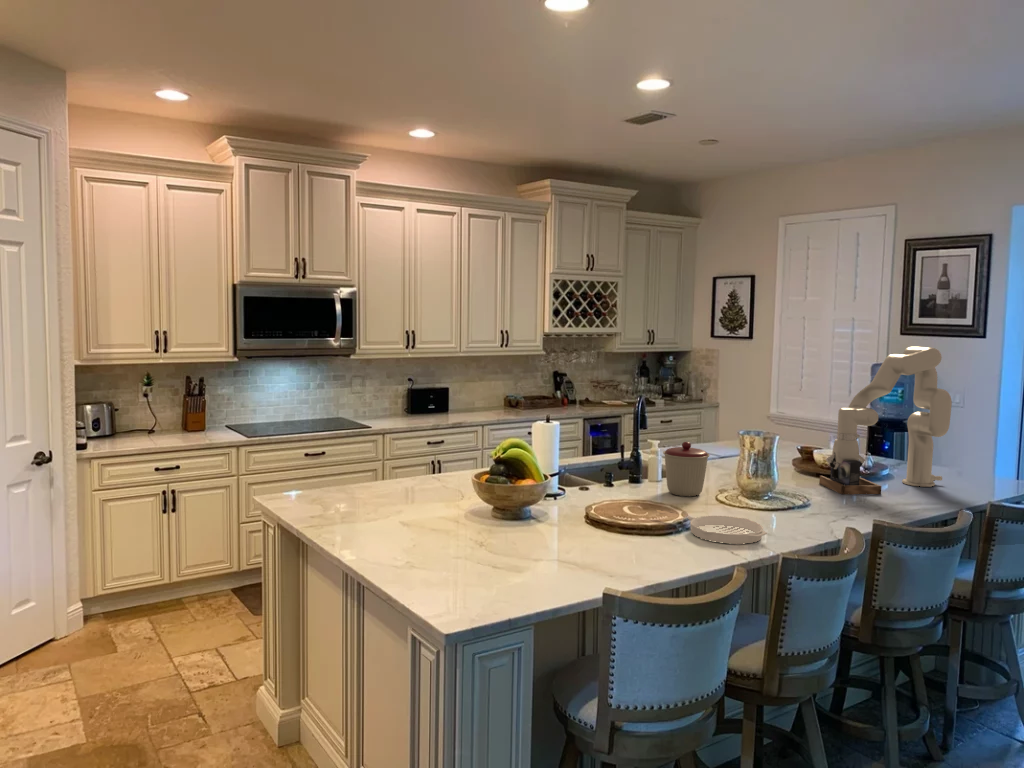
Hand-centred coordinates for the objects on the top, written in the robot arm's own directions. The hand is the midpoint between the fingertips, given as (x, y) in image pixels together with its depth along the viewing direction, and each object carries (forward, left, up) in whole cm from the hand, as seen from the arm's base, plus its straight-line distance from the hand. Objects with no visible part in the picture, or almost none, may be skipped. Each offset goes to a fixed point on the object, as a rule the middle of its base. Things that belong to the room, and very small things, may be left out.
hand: (844, 477), depth 329 cm
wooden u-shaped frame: (0, +5, -4) cm, 6 cm away
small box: (0, 0, -3) cm, 3 cm away
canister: (+73, +15, -4) cm, 75 cm away
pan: (+81, +67, -4) cm, 105 cm away
